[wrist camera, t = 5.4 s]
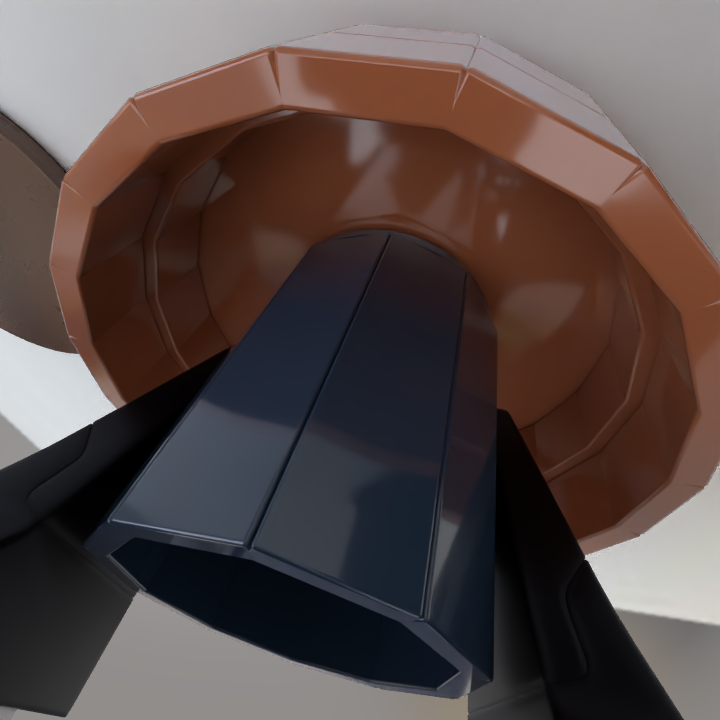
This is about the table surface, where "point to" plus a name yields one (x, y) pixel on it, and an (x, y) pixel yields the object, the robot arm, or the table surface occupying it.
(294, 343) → the cup
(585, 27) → the table surface
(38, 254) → the coaster
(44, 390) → the table surface
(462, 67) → the bowl
